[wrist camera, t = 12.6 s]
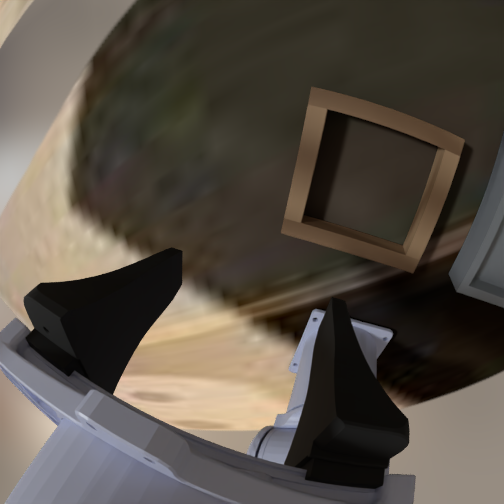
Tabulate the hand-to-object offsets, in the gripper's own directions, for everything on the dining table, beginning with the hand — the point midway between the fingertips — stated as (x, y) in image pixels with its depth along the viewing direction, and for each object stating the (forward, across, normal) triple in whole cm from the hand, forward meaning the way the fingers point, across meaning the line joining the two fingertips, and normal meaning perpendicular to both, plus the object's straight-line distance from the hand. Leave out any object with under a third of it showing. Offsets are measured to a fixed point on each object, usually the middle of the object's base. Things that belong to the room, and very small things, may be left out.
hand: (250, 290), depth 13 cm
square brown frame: (+10, -5, -4) cm, 12 cm away
